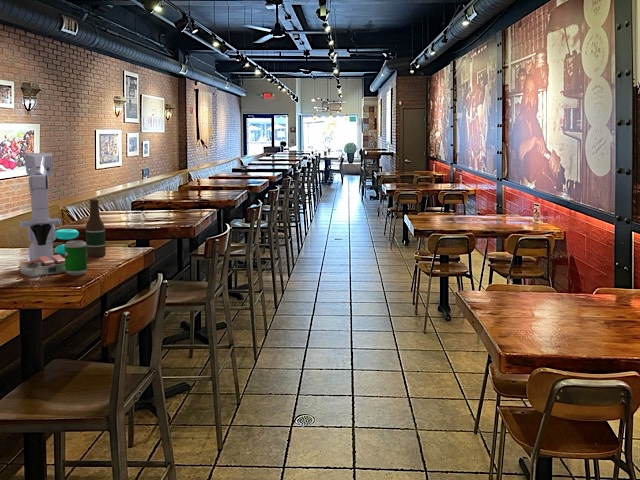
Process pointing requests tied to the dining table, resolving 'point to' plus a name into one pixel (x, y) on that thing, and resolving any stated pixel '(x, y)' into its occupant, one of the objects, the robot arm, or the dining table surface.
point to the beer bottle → (95, 232)
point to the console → (42, 269)
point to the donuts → (64, 235)
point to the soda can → (75, 257)
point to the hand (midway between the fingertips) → (41, 245)
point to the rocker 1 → (32, 262)
